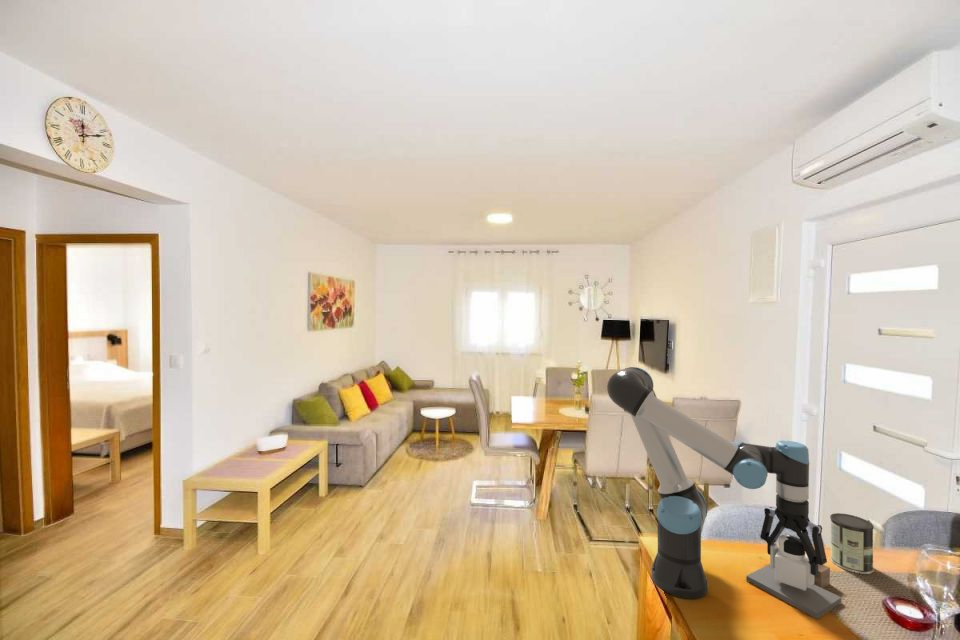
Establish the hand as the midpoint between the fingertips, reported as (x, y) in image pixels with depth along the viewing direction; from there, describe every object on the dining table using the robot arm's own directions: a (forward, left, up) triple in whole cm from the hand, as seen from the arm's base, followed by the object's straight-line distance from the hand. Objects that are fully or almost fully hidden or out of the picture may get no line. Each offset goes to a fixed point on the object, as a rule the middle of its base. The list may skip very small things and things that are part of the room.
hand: (791, 575), depth 120 cm
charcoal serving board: (0, 0, -5) cm, 5 cm away
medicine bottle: (0, 0, -2) cm, 2 cm away
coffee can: (+2, +31, -5) cm, 31 cm away
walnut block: (+1, +11, -5) cm, 12 cm away
